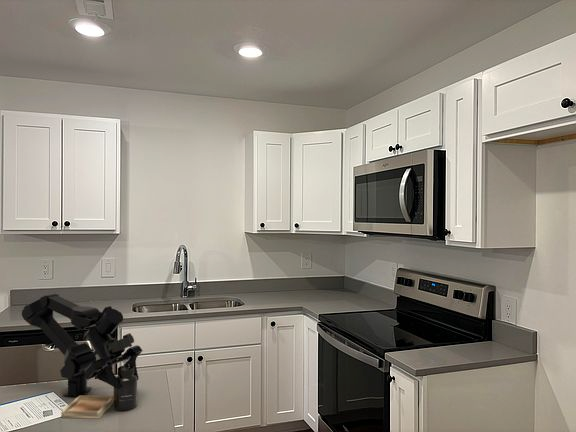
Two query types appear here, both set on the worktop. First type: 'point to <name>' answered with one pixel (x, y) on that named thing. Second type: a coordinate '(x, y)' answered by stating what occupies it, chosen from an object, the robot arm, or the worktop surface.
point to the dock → (87, 407)
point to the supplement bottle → (125, 389)
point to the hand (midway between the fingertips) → (128, 384)
